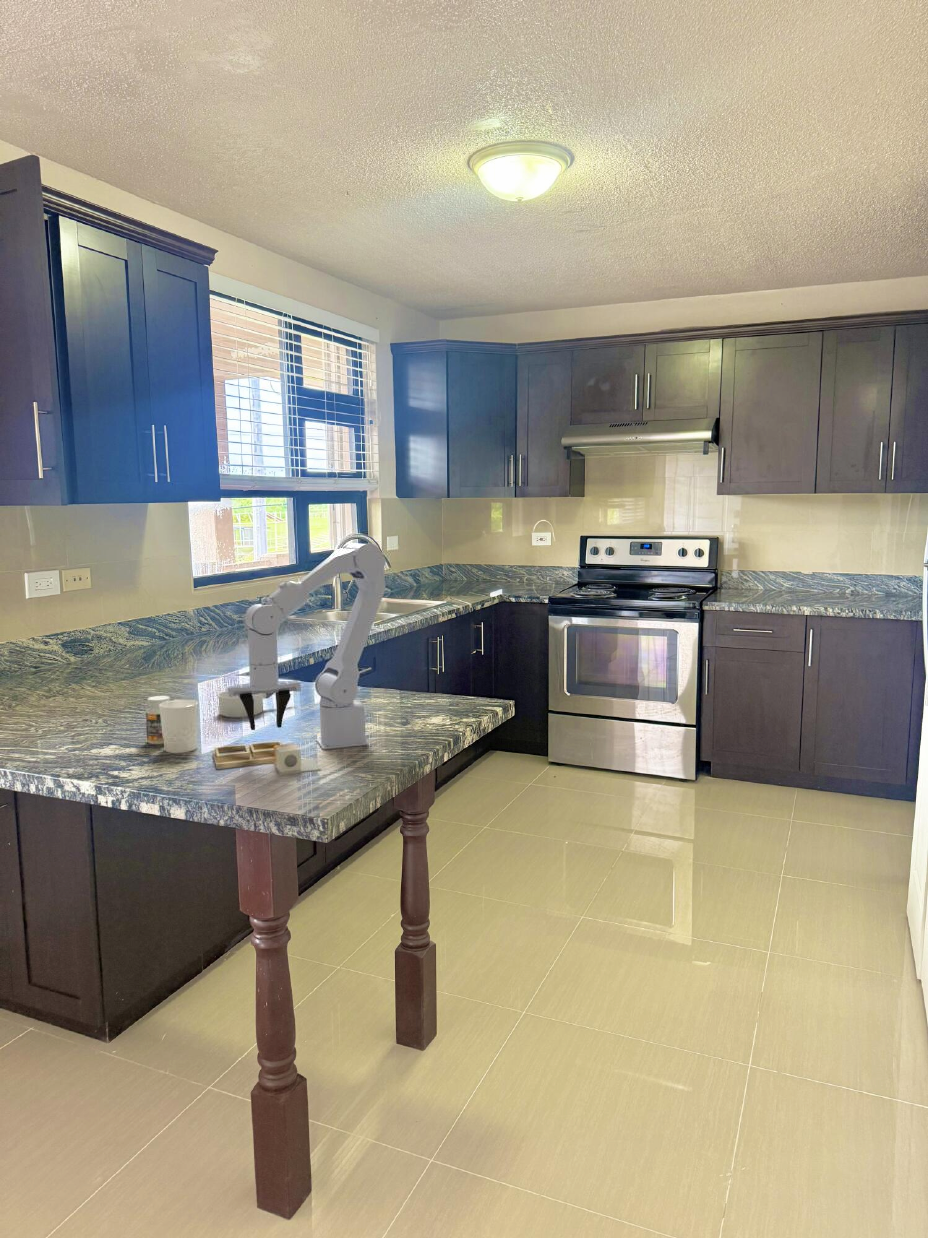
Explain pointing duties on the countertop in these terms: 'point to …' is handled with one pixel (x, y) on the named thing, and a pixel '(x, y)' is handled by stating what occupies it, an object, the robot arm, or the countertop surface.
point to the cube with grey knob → (287, 757)
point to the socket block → (244, 754)
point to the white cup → (179, 725)
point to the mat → (303, 767)
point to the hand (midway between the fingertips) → (265, 727)
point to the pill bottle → (154, 719)
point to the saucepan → (239, 704)
